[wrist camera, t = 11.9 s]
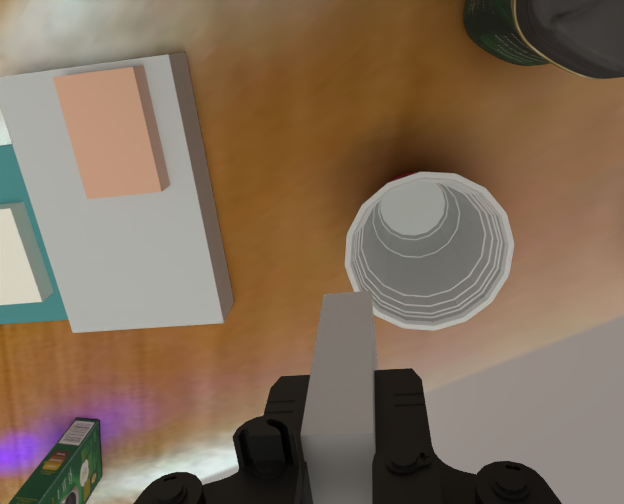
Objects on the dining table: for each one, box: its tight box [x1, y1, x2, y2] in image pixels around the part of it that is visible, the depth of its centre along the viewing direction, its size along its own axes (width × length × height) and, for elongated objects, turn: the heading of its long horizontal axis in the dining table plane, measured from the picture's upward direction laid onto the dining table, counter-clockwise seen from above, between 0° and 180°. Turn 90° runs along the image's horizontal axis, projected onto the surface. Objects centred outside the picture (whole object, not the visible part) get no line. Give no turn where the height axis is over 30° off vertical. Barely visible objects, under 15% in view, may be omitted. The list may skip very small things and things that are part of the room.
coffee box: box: [9, 418, 102, 504], centre depth 53 cm, size 8×3×13 cm, turn 174°
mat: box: [0, 145, 68, 324], centre depth 51 cm, size 17×11×1 cm, turn 7°
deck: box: [0, 52, 234, 333], centre depth 46 cm, size 22×14×4 cm, turn 7°
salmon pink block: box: [53, 65, 170, 199], centre depth 41 cm, size 9×6×2 cm, turn 7°
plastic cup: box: [345, 172, 514, 330], centre depth 40 cm, size 11×11×12 cm
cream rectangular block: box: [0, 202, 54, 305], centre depth 50 cm, size 9×6×2 cm, turn 7°
